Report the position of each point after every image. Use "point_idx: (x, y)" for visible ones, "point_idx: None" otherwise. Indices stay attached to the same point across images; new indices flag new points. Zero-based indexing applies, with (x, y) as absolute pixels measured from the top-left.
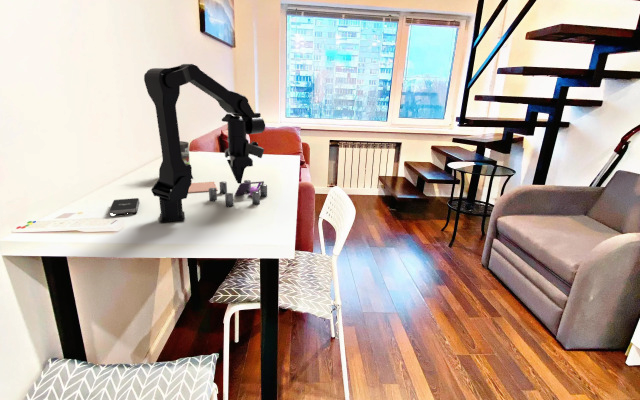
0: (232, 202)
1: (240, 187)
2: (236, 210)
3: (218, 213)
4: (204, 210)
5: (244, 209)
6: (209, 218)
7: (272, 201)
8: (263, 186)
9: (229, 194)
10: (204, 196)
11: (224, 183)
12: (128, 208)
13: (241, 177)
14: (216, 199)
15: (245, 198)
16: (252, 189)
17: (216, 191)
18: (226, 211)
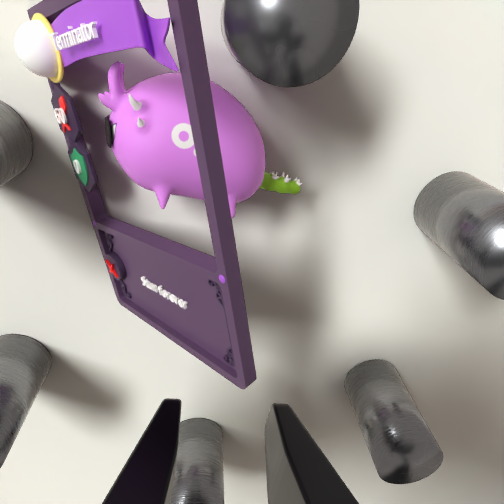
0: (407, 391)
1: (204, 336)
2: (473, 361)
3: (448, 440)
4: (358, 481)
5: (494, 317)
6: (482, 474)
7: (492, 5)
8: (346, 46)
9: (424, 463)
10: (79, 463)
11: (3, 444)
12: None
13: (338, 489)
14: (213, 430)
15: (245, 237)
16: (231, 187)
17: (204, 486)
18: (448, 406)
